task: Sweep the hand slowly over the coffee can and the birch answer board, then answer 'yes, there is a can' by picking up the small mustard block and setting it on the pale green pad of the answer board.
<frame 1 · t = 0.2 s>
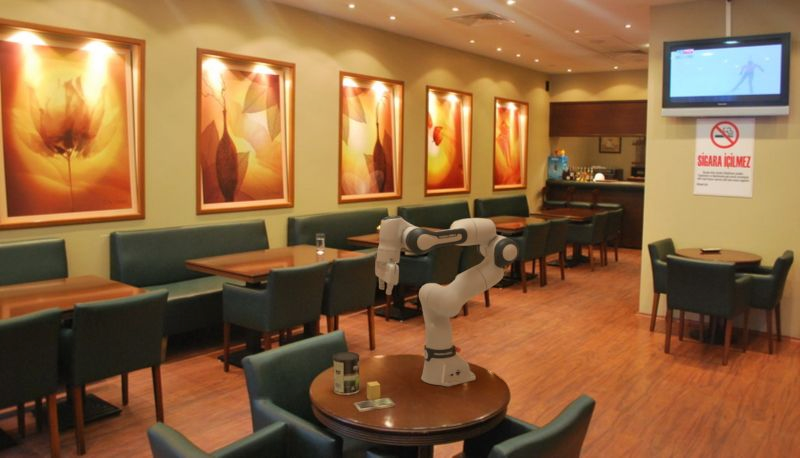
hand: (384, 291, 256), 39 cm above the table, tool pointing down, fingers open, 8 cm apart
answer board: (374, 405, 242), on the table
token: (373, 398, 248), on the table
coffee can: (346, 390, 257), on the table
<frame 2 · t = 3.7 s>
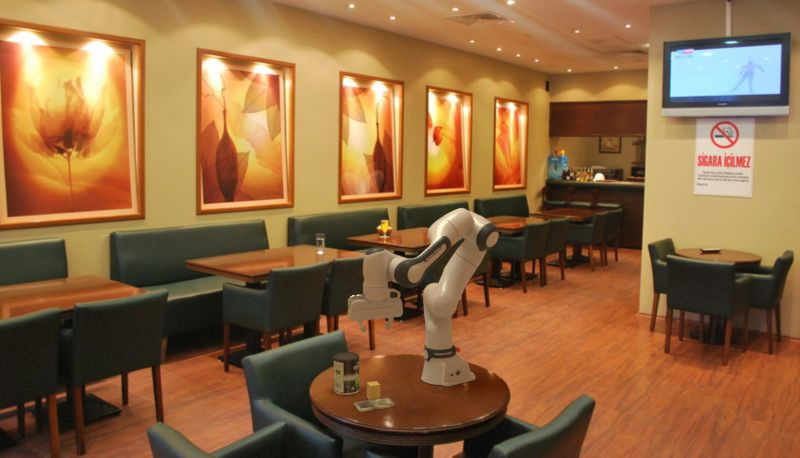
hand: (375, 330, 237), 29 cm above the table, tool pointing down, fingers open, 8 cm apart
nothing on the table moved.
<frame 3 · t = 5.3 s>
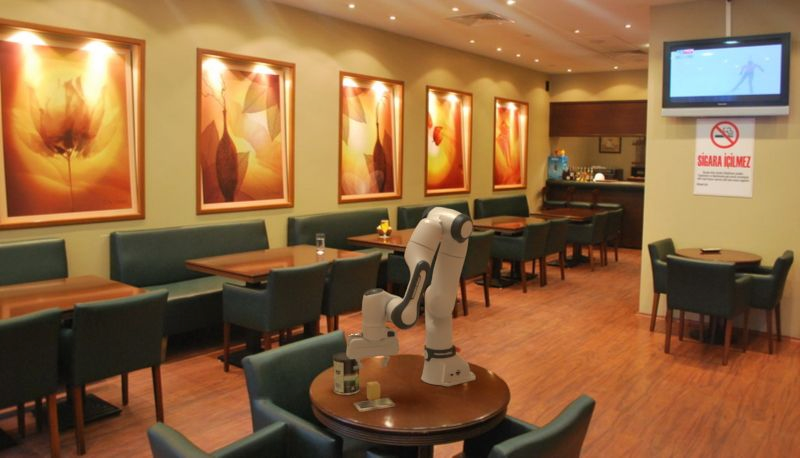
hand: (372, 367, 247), 12 cm above the table, tool pointing down, fingers open, 8 cm apart
nothing on the table moved.
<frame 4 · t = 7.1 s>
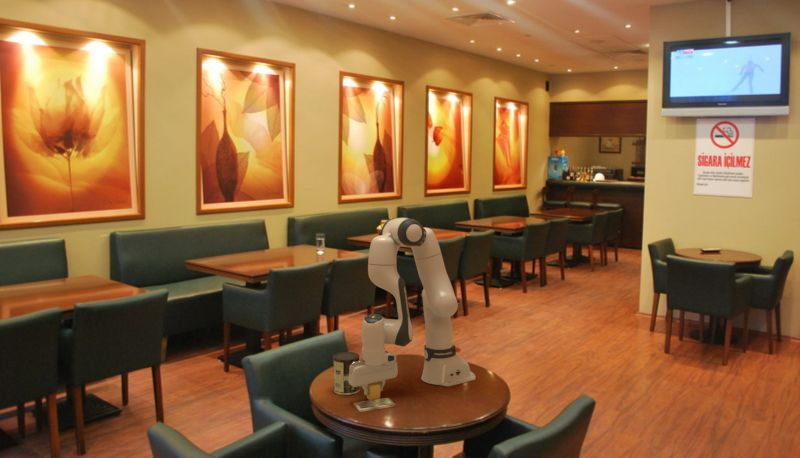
hand: (373, 392, 248), 2 cm above the table, tool pointing down, fingers closed on token, 4 cm apart
token: (373, 398, 248), on the table, touching gripper
everything else where it was.
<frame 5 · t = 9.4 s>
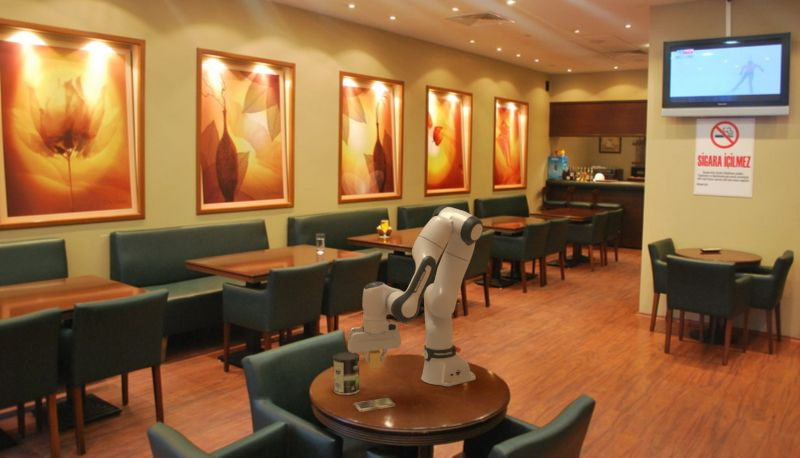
hand: (374, 361, 246), 15 cm above the table, tool pointing down, fingers closed on token, 4 cm apart
token: (374, 367, 246), point 13 cm above the table, touching gripper
everything else where it was.
when the fingers open (5 cm above the table, at t = 12.2 s): token drops 1 cm, resting on answer board.
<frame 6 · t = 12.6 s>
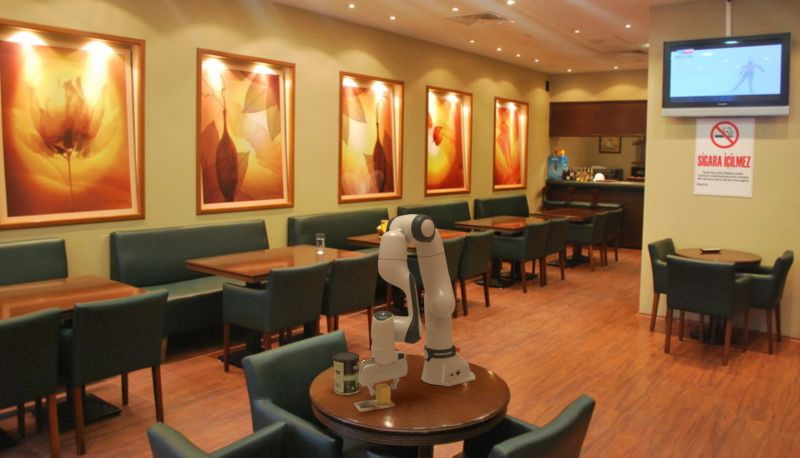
hand: (383, 391, 242), 5 cm above the table, tool pointing down, fingers open, 8 cm apart
token: (383, 401, 243), point 1 cm above the table, touching answer board
everything else where it was.
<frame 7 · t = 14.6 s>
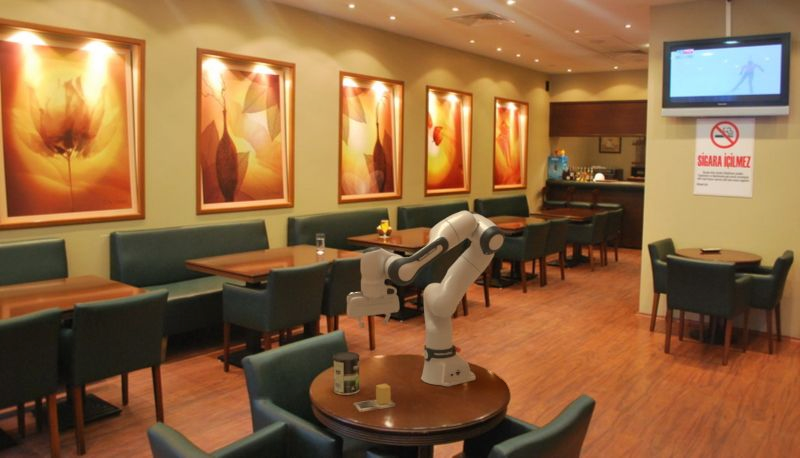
hand: (373, 325, 246), 28 cm above the table, tool pointing down, fingers open, 8 cm apart
nothing on the table moved.
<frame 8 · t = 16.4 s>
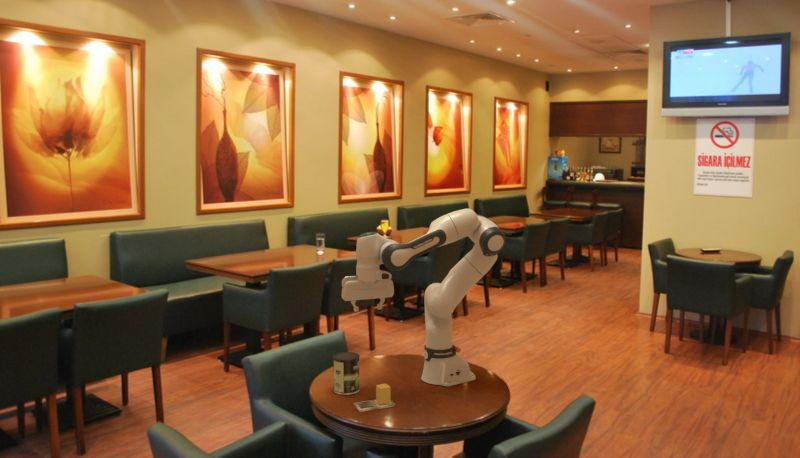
hand: (368, 310, 250), 33 cm above the table, tool pointing down, fingers open, 8 cm apart
nothing on the table moved.
at the end: token inside the target area on the answer board (0.1 cm from its centre), point 1.1 cm above the answer board's base; the gripper is holding nothing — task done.
